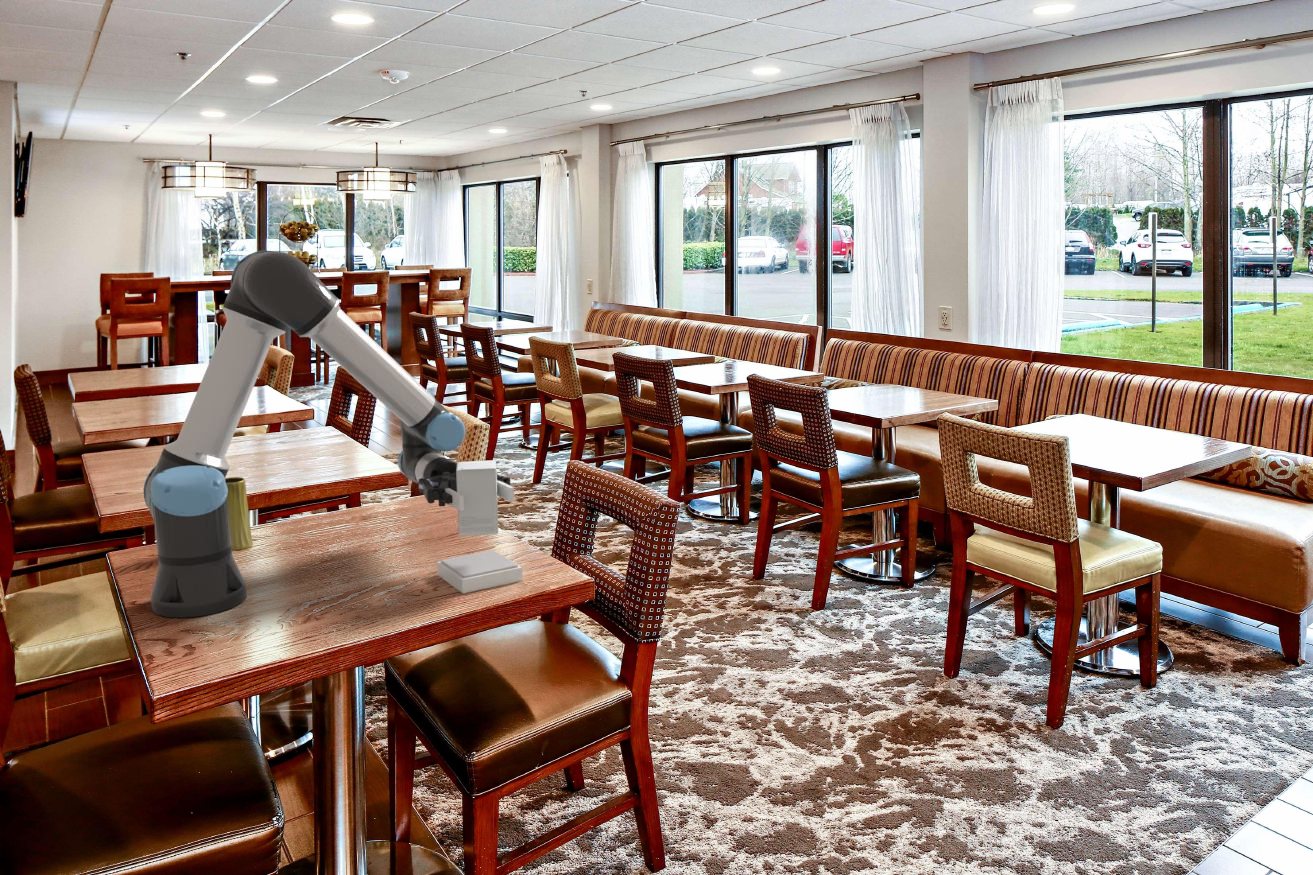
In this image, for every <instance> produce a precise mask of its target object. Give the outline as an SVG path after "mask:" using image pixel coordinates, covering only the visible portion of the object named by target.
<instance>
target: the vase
mask: <svg viewBox="0 0 1313 875" xmlns="http://www.w3.org/2000/svg"><path fill="white" fill-rule="evenodd" d="M225 482H226V485H227V488H228V494H227V502H228V513H229V523H230V534H231V546H232V551H240V550H245V549H249V548H250V547H252V546H253V544H254V542H253V540H252V539H253V537H252V530H251V522H250V513H249V505H248V504H249V503H248V497H247V486H246V485H247V484H246V479H245V478H244V477H239V476H233V477H232V476H231V477H230V476H229V477H225Z"/></svg>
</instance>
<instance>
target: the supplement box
mask: <svg viewBox="0 0 1313 875" xmlns="http://www.w3.org/2000/svg"><path fill="white" fill-rule="evenodd" d="M497 472H498V471H497V462H496V460H495V459H494V460H493V459H491V460H472V461H470V460H469V461H458V463H457V469H456V478H457V493H459V494H461V495H463V499H464V510H462V511H460V510H458V509H457V522H458V523H457V524H458V527H457V528H458V536H459V537H460V536H461V537H463V536H486V535H487V536H488V535H497V534H499V510H498V509H499V502H498V496H497V475H498V473H497Z"/></svg>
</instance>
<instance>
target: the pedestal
mask: <svg viewBox="0 0 1313 875" xmlns="http://www.w3.org/2000/svg"><path fill="white" fill-rule="evenodd" d="M436 566H437V567H436V569H437V571H436V572H437V573H436V574H437V576H438V577H440V578H441V579H443V580H444V581H445V582H447V583H448V584H450V585H451V586H452V587H453V588H455V590H458V591H459V592H460V593H461V594H467V593H471V592H476V591H480V590H485V589H489V588H495V587H498V586H504V585H508V584H513V583H518V582H522V581H523V567H522V566H521V565H519V564H518V563H516V562H514V561H512V560H510V559H509V558H507V557H506V556H504V555H502V554H501V553H500V552H498V551H496V550H494V549H491V550H486V551H482V552H477V553H471V554H465V555H460V556H456V557H451V558H446V559H441V560H440V561H436Z"/></svg>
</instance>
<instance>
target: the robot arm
mask: <svg viewBox="0 0 1313 875" xmlns="http://www.w3.org/2000/svg"><path fill="white" fill-rule="evenodd" d="M222 311H223V313H224V315H225V317H226V322H225V325H224V326H223V329H222V331H221V334H220V336H219V339H218V340H217V344H216V345H215V349H214V351H213V352H212V355H211V357H210V360H209V363H208V365H207V367H206V370H205V372H204V375H203V377H202V379H201V381H200V384H199V386H198V389H197V391H196V393H195V396H194V398H193V401H192V403H191V405H190V408H189V411H188V413H187V414H186V418H185V420H184V423H183V425H182V427H181V429H180V431H179V434H178V437H177V439H176V440H174V441H173V442H171V443H168V444H165V445H164V447H163V449H162V452H161V453H160V456H159V459H158V461H157V463H156V465H154V467H153V468H152V469H151V470H150V471H149V473H148V474H147V476H146V478H145V481H144V484H143V500H144V502H145V506H146V507H147V508H148V511H149V513H150V515H151V517H152V518H153V524H154V531H155V541H156V549H157V557H158V558H157V560H158V568H157V570H156V571H157V572H156V575H155V579H154V583H153V587H152V591H151V595H150V603H151V610H152V612H153V613H154V614H156V615H158V616H162V617H167V618H175V619H176V618H179V619H180V618H193V617H194V618H195V617H202V616H207V615H212V614H217V613H221V612H224V611H226V610H230V609H232V608H235V607H236V606H238V605H240V604H241V603H243V602H244V601H245V600H246V599H247V597H248V595H247V584H246V581H245V579H244V577H243V575H242V573H241V570H240V568H239V566H238V563H237V562H236V560H235V557H234V556H233V550H232V546H231V534H230V523H229V513H228V502H227V494H228V488H227V485H226V482H225V478H227V475H228V472H229V470H230V464H229V462H228V460H227V459H226V455H227V452H228V450H229V448H230V445H231V442H232V439H233V437H234V435H235V432H236V431H237V428H238V426H239V422H240V421H241V418H242V415H243V413H244V411H245V408H246V406H247V404H248V401H249V399H250V396H251V394H252V392H253V389H254V386H255V384H256V383H257V379H258V377H259V374H260V373H261V370H262V367H263V365H264V362H265V360H266V358H267V356H268V353H269V351H270V348H271V347H272V343H273V341H274V339H276V338H277V337H280V336H282V335H284V334H286V332H287V329H288V328H290V330H292V331H293V332H294V333H295V334H297V336H299V337H300V338H309V339H311V340H312V341H313V342H314V343H315V344H316V345H317V346H318V347H319V348H320V349H321V350H323V351H324V352H325V353H326V354H327V355H328V356H329V357H330V358H331V359H333V360H334V361H335V362H336V363H337V364H338V365H339V366H340V367H341V368H342V369H343V370H345V371H346V372H347V373H348V374H349V375H350V376H352V377H353V378H354V379H355V380H356V381H357V382H358V383H359V384H360V385H361V386H363V387H364V388H365V389H366V390H367V392H369V393H370V394H371V395H373V396H374V397H375V398H376V399H377V400H378V401H379V402H380V403H382V404H383V405H384V406H385V407H386V408H387V409H388V410H389V411H391V413H393V414H394V415H395V416H396V417H397V418H398V419H399V426H400V436H401V444H402V446H401V447H402V448H401V449H402V450H401V452H399V454H398V455H399V456H398V458H397V466H398V468H399V471H400V472H401V474H402V475H404V477H406V478H407V480H409V481H411V482H413V483H416V484H418V492H419V493H421V494H423V496H424V497H425V499H426V501H427V503H428V504H434V503H435V501H438V507H446V505H449V506H451V507H453V508H454V509H456V510H457V511H458V510H460V511H462V510H464V499H463V495H461V494H459V493H457V478H456V469H457V463H458V462H459V461H458V462H457V461H455V460H453V459H451V458H450V457H447V456H446V455H442V454H441V452H451V451H454V450H456V449H457V448H459V446H461V445H462V443H463V442H464V440H465V437H466V427H465V426H466V425H465V424H464V422H463V419H461V418H459V416H458V415H456V414H455V413H452V412H451V411H449V410H448V409H446V408H445V406H444V405H442V404H441V403H440V402H439V401H438V400H437V399H436V397H435V394H434V393H433V392H432V391H429V390H426V388H425V387H423V386H422V385H421V384H420V383H419V382H418V381H417V380H416V379H415V378H414V377H413V376H412V375H411V374H410V373H409V372H408V371H407V370H406V369H404V368H403V366H401V365H400V364H399V363H398V361H396V360H395V359H394V358H393V357H392V356H391V355H390V354H389V353H388V352H387V351H385V349H383V348H382V347H381V346H380V345H379V344H378V343H377V341H375V340H374V339H373V338H372V337H371V336H370V335H369V334H368V333H367V332H365V330H363V329H362V328H361V327H360V325H358V324H357V323H356V322H355V321H354V320H353V319H352V318H351V317H350V316H349V315H348V314H347V313H345V311H344V310H342V309H341V308H340V299H339V298H338V296H336V295H335V294H334V293H333V291H331V290H330V289H329V288H328V287H327V286H326V285H325V283H323V282H322V280H320V278H319V277H318V276H317V275H316V274H315V273H314V272H313V270H312V269H310V267H309V266H308V265H306V264H305V262H303V261H302V260H301V259H299V258H298V257H297V256H295V255H293V254H290V253H288V252H284V251H283V252H282V251H273V250H258V251H255V252H251V253H250V254H247V255H246V256H244V257H243V258H242V259H241V260H239V261H238V263H236V265H235V267H234V268H233V271H232V273H231V279H230V288H229V291H228V293H227V295H226V299H225V301H224V303H223V306H222ZM440 451H441V452H440ZM497 497H499V498H501V499H503V500H506V501H507V502H509V503H515V498H516V497H515V487H514V486H512V485H511V477H508V476H504V475H500V474H497Z"/></svg>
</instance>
